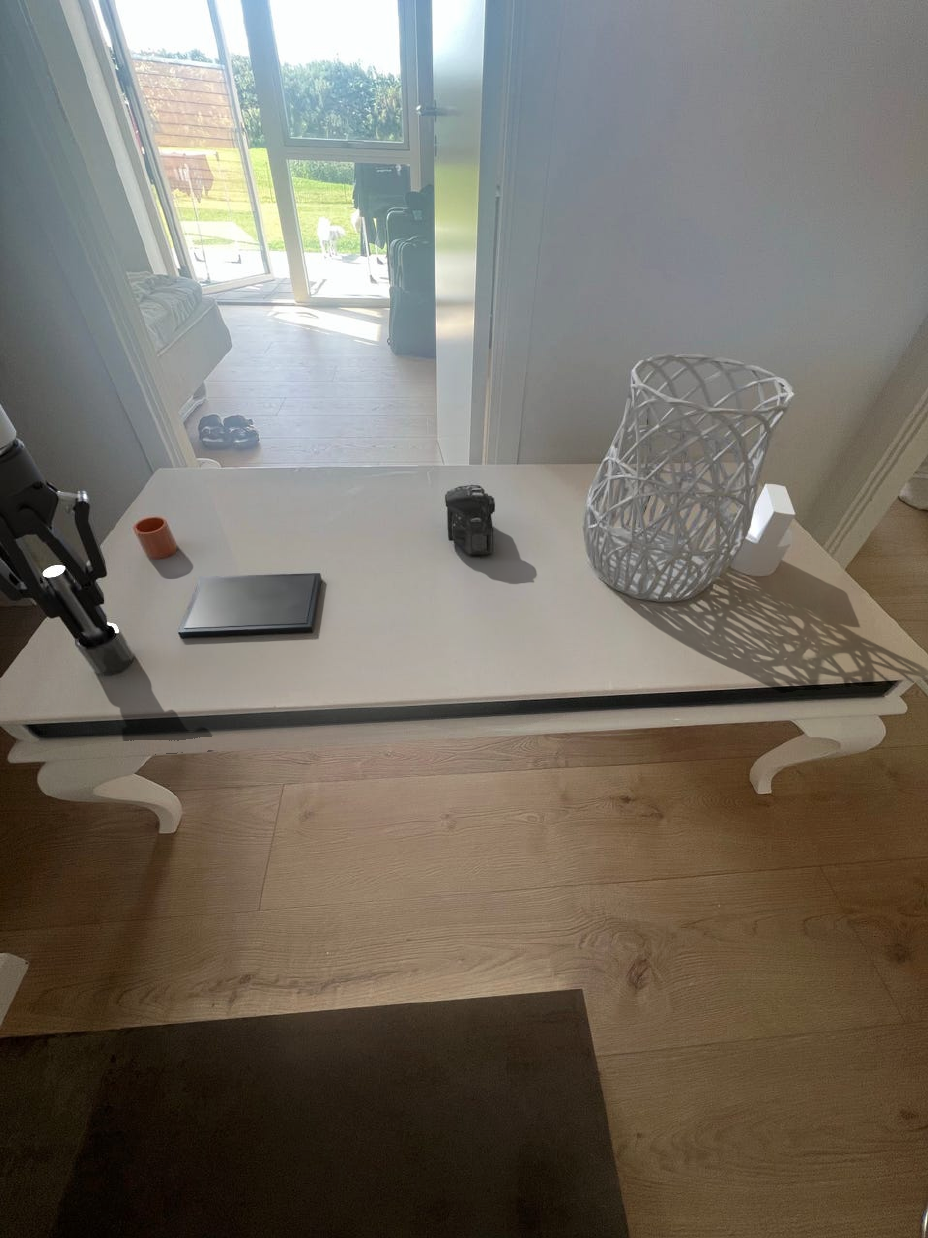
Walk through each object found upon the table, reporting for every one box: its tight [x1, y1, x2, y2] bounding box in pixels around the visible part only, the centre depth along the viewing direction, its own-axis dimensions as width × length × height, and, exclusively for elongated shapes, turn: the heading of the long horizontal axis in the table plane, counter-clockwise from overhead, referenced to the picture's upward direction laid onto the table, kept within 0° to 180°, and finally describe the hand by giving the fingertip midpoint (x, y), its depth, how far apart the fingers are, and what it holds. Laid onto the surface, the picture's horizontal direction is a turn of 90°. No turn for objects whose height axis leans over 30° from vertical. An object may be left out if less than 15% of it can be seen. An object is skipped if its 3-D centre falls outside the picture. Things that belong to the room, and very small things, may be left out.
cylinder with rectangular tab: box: [728, 483, 796, 577], centre depth 85 cm, size 9×9×12 cm
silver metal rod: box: [42, 564, 111, 647], centre depth 64 cm, size 2×2×15 cm
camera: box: [444, 484, 496, 556], centre depth 88 cm, size 13×10×10 cm
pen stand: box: [74, 621, 135, 677], centre depth 67 cm, size 5×5×5 cm
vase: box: [582, 353, 795, 603], centre depth 78 cm, size 24×24×30 cm
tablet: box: [177, 572, 322, 639], centre depth 77 cm, size 18×12×1 cm, turn 95°
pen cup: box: [132, 516, 178, 560], centre depth 85 cm, size 5×5×5 cm
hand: (91, 627), depth 65 cm, fingers closed on silver metal rod, 2 cm apart
